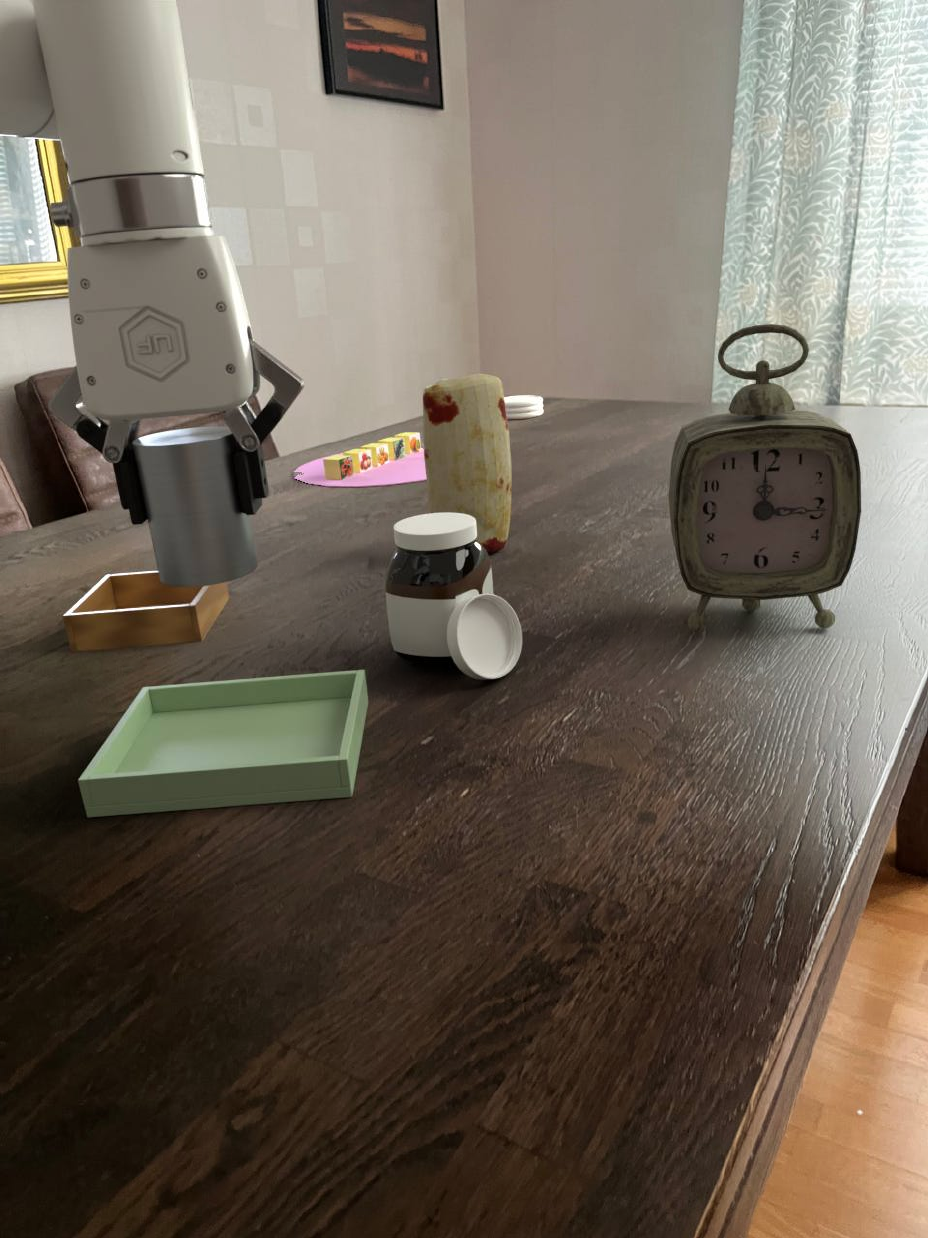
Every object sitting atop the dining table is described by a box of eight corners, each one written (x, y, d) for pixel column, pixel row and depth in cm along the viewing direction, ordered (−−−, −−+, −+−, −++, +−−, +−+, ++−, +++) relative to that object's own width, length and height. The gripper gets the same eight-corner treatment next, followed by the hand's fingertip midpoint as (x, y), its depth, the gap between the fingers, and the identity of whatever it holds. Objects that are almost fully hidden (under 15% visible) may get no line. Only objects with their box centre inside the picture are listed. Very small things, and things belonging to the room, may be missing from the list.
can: (147, 590, 61) (118, 449, 58) (174, 561, 67) (149, 431, 64) (248, 582, 61) (224, 440, 58) (265, 553, 67) (245, 423, 64)
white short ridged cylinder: (489, 420, 197) (488, 403, 196) (502, 412, 206) (501, 395, 204) (536, 419, 194) (535, 401, 192) (548, 410, 202) (547, 393, 201)
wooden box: (72, 657, 90) (62, 615, 88) (114, 611, 101) (106, 574, 100) (203, 646, 89) (195, 605, 88) (230, 602, 101) (223, 565, 99)
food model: (441, 567, 107) (424, 382, 100) (426, 551, 113) (409, 376, 106) (524, 553, 109) (514, 372, 102) (505, 539, 115) (494, 366, 108)
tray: (86, 818, 62) (77, 780, 61) (149, 719, 76) (142, 686, 75) (352, 797, 62) (347, 759, 61) (368, 702, 75) (364, 669, 74)
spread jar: (428, 629, 89) (416, 506, 85) (546, 638, 85) (539, 509, 81) (370, 683, 79) (353, 545, 75) (501, 695, 75) (491, 551, 70)
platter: (252, 481, 158) (248, 461, 157) (369, 442, 183) (367, 425, 182) (412, 492, 142) (410, 469, 140) (517, 448, 167) (516, 428, 165)
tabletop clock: (674, 640, 82) (673, 335, 73) (667, 603, 91) (666, 326, 82) (852, 636, 80) (874, 321, 71) (829, 599, 88) (845, 313, 80)
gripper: (-33, 227, 53) (44, 541, 59) (282, 199, 53) (325, 518, 59) (23, 230, 60) (86, 511, 66) (301, 206, 60) (338, 490, 66)
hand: (198, 512), depth 63 cm, fingers closed on can, 6 cm apart
